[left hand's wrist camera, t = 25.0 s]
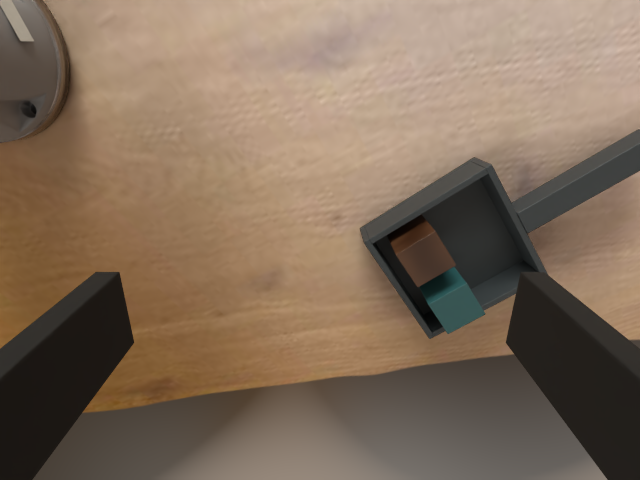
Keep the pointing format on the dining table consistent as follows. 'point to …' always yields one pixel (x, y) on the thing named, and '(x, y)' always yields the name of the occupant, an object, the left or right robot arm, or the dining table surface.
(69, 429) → the left robot arm
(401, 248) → the walnut block
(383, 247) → the tray
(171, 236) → the dining table surface
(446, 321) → the teal block
